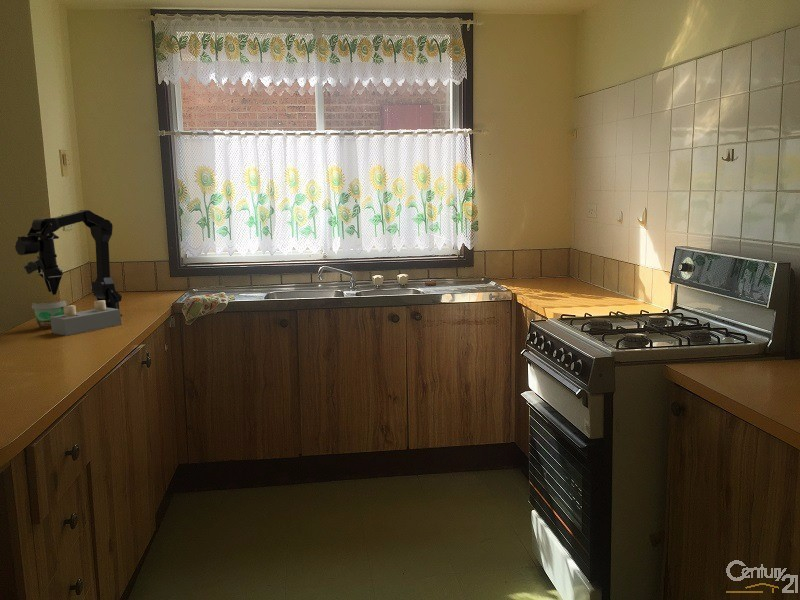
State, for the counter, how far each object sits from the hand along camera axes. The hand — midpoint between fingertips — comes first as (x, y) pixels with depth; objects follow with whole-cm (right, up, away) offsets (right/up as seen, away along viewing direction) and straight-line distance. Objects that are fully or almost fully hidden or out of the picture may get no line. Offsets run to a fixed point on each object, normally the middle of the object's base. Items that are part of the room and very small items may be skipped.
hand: (52, 293), depth 269 cm
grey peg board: (+13, -13, 0) cm, 19 cm away
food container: (-2, -14, +4) cm, 14 cm away
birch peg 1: (+10, -11, -6) cm, 16 cm away
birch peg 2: (+17, -9, +4) cm, 19 cm away
